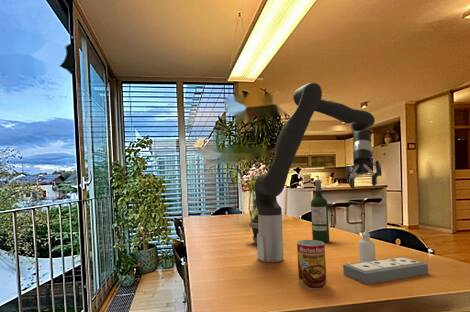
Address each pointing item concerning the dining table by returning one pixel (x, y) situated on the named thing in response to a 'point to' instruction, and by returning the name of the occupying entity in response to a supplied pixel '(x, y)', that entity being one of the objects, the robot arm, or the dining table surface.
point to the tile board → (385, 270)
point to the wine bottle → (319, 215)
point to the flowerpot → (255, 228)
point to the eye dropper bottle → (366, 248)
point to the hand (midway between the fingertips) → (362, 186)
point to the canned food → (311, 264)
